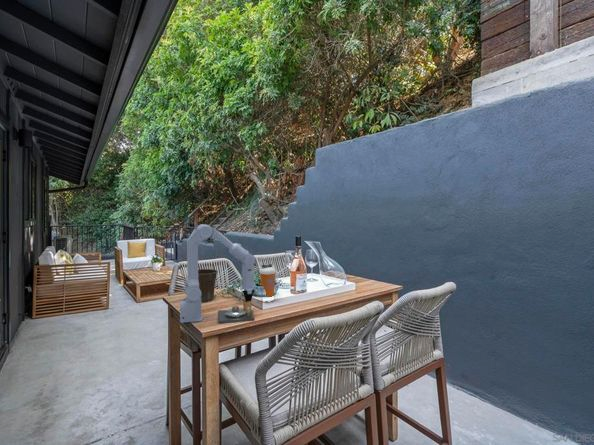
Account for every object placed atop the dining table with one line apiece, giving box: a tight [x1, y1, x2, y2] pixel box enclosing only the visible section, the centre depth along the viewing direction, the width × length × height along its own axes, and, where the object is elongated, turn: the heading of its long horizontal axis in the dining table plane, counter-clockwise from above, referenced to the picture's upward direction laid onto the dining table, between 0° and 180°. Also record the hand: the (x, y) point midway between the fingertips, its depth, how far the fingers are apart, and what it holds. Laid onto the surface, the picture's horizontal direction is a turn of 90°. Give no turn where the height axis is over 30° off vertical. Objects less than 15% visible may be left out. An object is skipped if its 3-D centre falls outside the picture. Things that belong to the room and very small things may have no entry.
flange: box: [225, 300, 252, 317], centre depth 153 cm, size 14×10×4 cm
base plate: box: [217, 309, 256, 325], centre depth 152 cm, size 16×16×1 cm
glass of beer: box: [259, 263, 277, 297], centre depth 179 cm, size 9×9×20 cm
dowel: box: [247, 307, 250, 317], centre depth 149 cm, size 2×2×4 cm
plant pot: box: [198, 268, 218, 303], centre depth 182 cm, size 16×16×16 cm
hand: (248, 305), depth 159 cm, fingers closed
